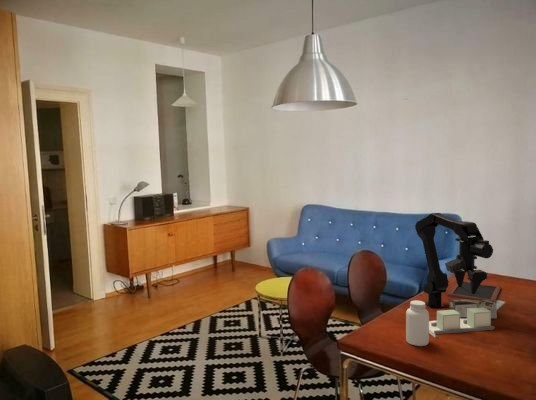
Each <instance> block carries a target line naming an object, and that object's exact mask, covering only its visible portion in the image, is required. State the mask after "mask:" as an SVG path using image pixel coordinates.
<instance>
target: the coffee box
mask: <svg viewBox="0 0 536 400" xmlns="http://www.w3.org/2000/svg"><path fill="white" fill-rule="evenodd" d="M448 307H449V310H455V311H457V312H458V313H460V318H467V309H468V308H481V307H484V308H486V309H488V310H490V311H491V319H498V315H497V312H498V311H497V303H496V302H495V303H494V302H491V301H488V300H468V299H451V298H450V299H448Z"/></svg>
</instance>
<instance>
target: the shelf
mask: <svg viewBox="0 0 536 400" xmlns="http://www.w3.org/2000/svg"><path fill="white" fill-rule="evenodd" d="M495 328H496V327H495V326H494V325H491V326H485V327H473V328H471V327H470V326H468V325H467V317H462V318H460V329H448V330H440V329H439V328H437V320H429V335H431V336H432V337H433V338H434V339H438V338H440V337H439V336H438V335H441V334H452V333H454V334H455V333H466V332H478V331H489V330H491V331H492V330H495Z"/></svg>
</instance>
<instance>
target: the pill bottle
mask: <svg viewBox="0 0 536 400" xmlns="http://www.w3.org/2000/svg"><path fill="white" fill-rule="evenodd" d="M425 302H426V301H423V300H411V301H410V304H409V308H407V310H406V312H405V317H406V318H405V321H406V322H405V324H406V325H405V334H406V335H405V340H406V342H407V343H408V344H409V345H412V346H416V347H423V346H427V345H428V344H429V343H430V333H429V321H430V313H429V311H428V310H427V309H426V306H427V305H426V304H425Z"/></svg>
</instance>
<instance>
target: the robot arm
mask: <svg viewBox="0 0 536 400" xmlns="http://www.w3.org/2000/svg"><path fill="white" fill-rule="evenodd" d="M414 226H415V231H416V234H417V236H418V237H419V238H420V239H421V241H422V244H423V250H424V254H425V260H426V264H427V268H428V274H427V278H426V281H427V282H426V284H424V286H423V287H422V290H423V292H424V293H425V294H427V301H424V302H425V304H426V306H428V307H429V308H431V309H435V308H437V309H438V308H445V305H444V304H443V303H442V300H443V299H442V294H443V293H446V292H447V289H448V287H449V282H450V281H449V280H448V274H447V273H446V272H443V271H442V269H441V266H440V262H439V257H438V253H437V247H436V244H435V236H436V228H437V227H439V226H442V227H444V228H446V229H450V230H452V231H453V232H454V234H455V235H457V236H458V237H456V238H455V241H456V242H458V243H459V249H458V250H459V253H458V254H456V258H455V259H451V260H448V261H447V262H445V264H444V266H445V268H446V271H448V272H450V273H451V274H454V278H455V279H456V283H457V284H458V287H462V284H463V282H464V279H465V276H466V274H467V277H466V278H467V280H468V281H469V282H470V284H471V293H472V294H475V292H476V291H477V289H478V287H479V286H480V284H483V281H485V280H487V279H488V273H487V272H486V271H484V270H482V269H477V268H478V267H477V265H475V264H476V263H475V261H476V260H477V259H478V257H479V258H483V259H490V258H491V257H492V256H493V253H494V248H493V245H492V244H490V241H489V240H484V237H483V235H482V233H481V232H480V231H481V230H480V229H479V227H478V226H477V224H476V222H473V221H467V220H466V221H465V220H464V221H463V220H458V219H456V218H454V217H449V216H448V215H444V214H442V213H440V212H432V213H430V214H428V216H426V217H424V218H422V219H420V220H418V221H416V223H415V225H414Z"/></svg>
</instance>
